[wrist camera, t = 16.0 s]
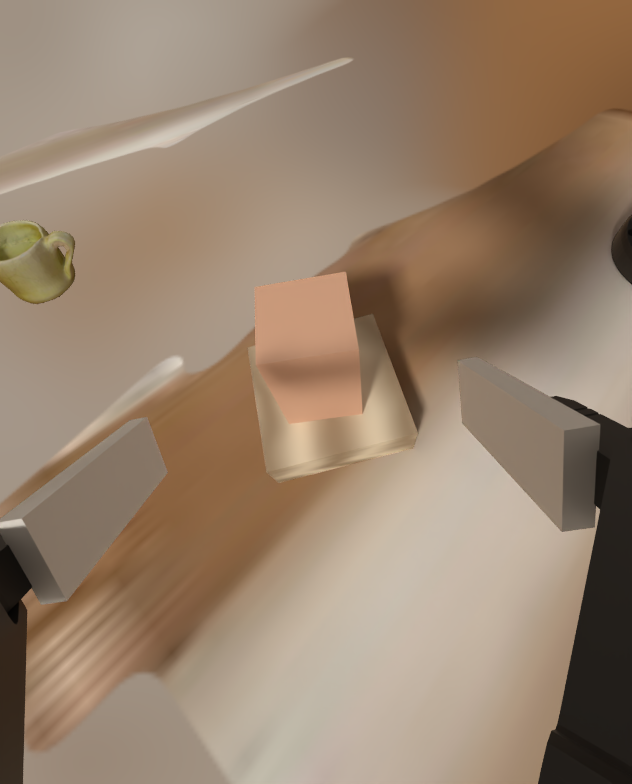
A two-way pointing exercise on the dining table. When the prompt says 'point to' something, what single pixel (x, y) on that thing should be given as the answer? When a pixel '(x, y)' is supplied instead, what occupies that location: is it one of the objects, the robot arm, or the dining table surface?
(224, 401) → the dining table surface
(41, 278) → the mug
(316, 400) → the terracotta block
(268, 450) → the ash block
